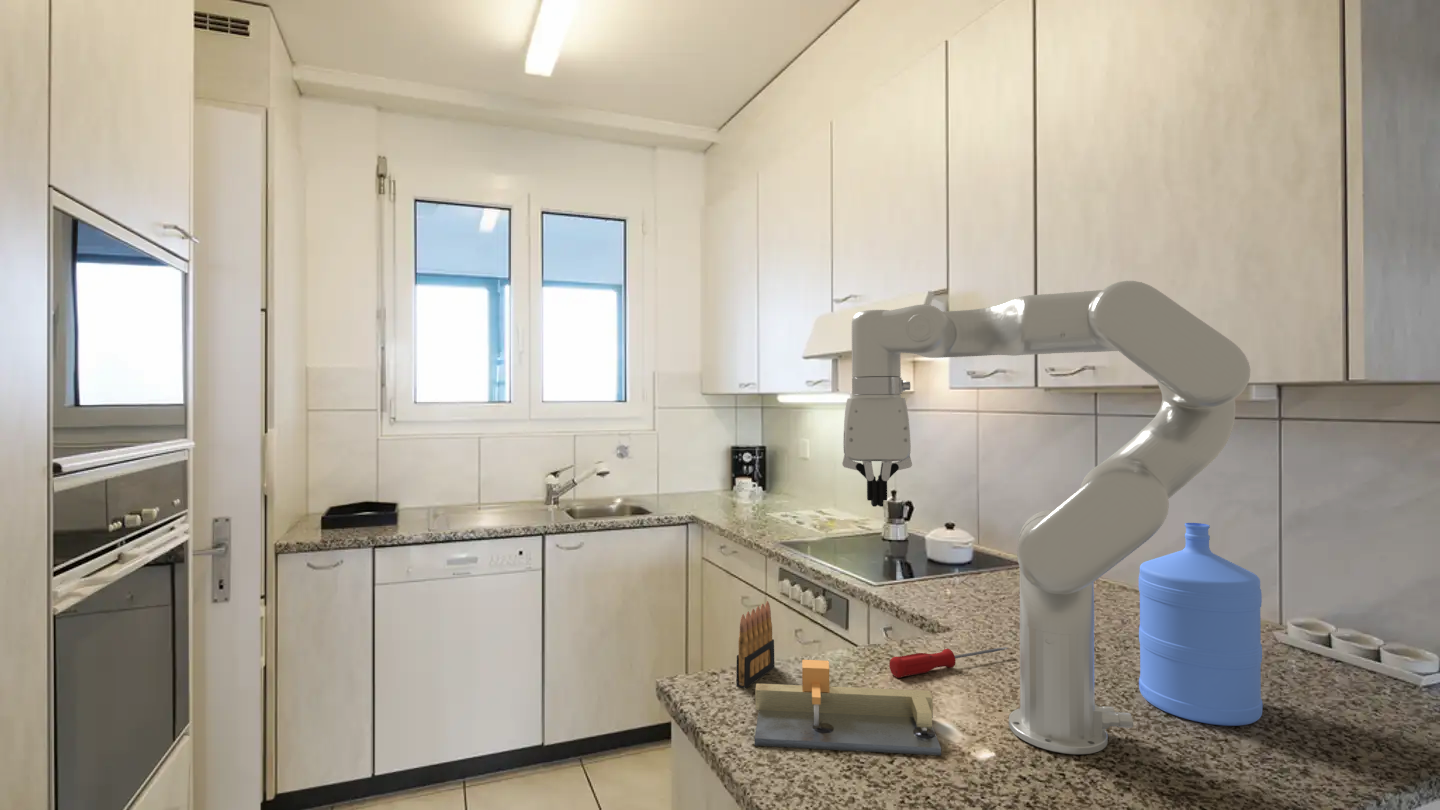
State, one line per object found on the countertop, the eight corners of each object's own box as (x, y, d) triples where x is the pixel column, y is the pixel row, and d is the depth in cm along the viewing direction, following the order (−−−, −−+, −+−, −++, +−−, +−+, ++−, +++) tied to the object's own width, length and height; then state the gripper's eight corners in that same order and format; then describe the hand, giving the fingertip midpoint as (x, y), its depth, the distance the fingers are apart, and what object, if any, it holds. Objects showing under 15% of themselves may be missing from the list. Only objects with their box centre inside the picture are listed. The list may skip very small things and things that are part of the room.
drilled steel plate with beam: (926, 709, 105) (926, 683, 105) (944, 755, 92) (944, 725, 92) (757, 701, 109) (757, 676, 109) (750, 745, 95) (750, 716, 95)
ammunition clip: (765, 665, 124) (765, 598, 124) (774, 667, 123) (774, 600, 123) (736, 686, 115) (735, 614, 115) (745, 688, 114) (745, 616, 114)
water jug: (1283, 735, 96) (1282, 536, 96) (1155, 720, 101) (1154, 531, 101) (1237, 690, 111) (1236, 518, 111) (1127, 679, 116) (1126, 514, 116)
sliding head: (828, 702, 105) (828, 660, 105) (830, 727, 97) (830, 682, 97) (802, 701, 105) (802, 659, 105) (802, 726, 97) (802, 681, 97)
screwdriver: (1014, 660, 125) (1014, 641, 125) (899, 682, 116) (899, 661, 116) (1000, 654, 128) (999, 635, 128) (887, 674, 119) (887, 654, 119)
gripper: (920, 389, 111) (921, 502, 111) (827, 390, 113) (828, 501, 113) (929, 388, 103) (930, 509, 103) (829, 389, 105) (830, 508, 105)
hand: (877, 505), depth 108 cm, fingers closed
